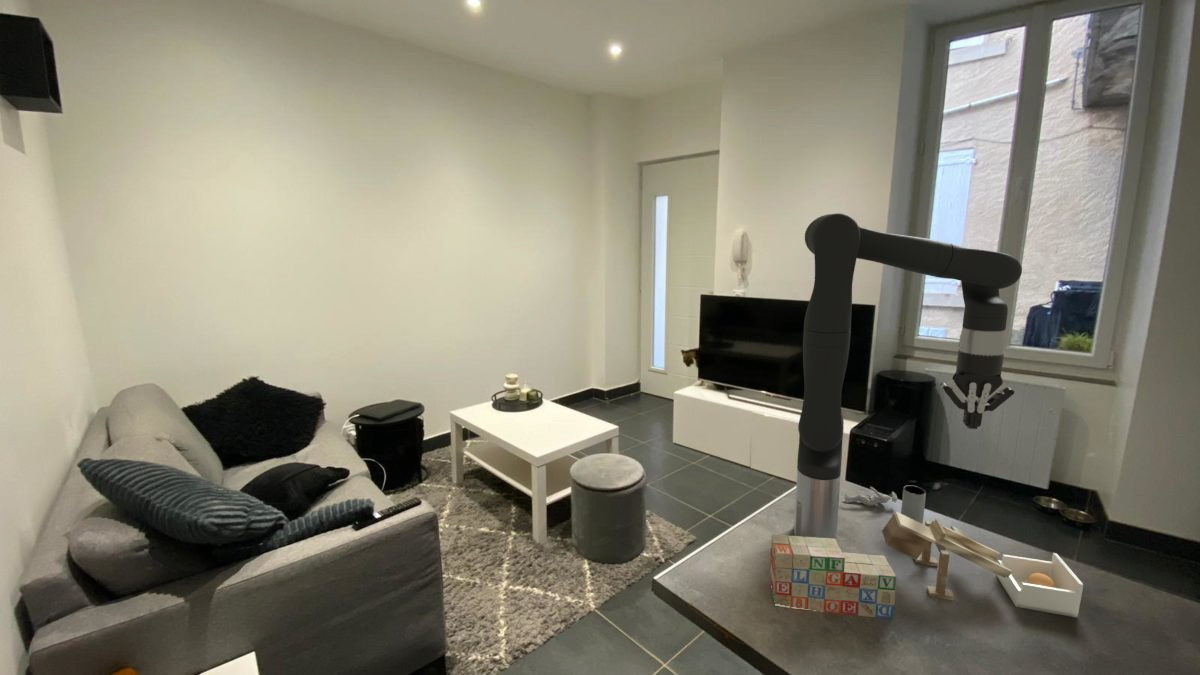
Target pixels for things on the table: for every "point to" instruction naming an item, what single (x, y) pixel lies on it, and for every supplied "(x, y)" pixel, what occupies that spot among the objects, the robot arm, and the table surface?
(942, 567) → the lever stand
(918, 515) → the planter
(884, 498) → the soldier figure
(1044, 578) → the ball
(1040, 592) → the white open box
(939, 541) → the lever
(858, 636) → the table surface
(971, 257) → the robot arm
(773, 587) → the stack of blocks
